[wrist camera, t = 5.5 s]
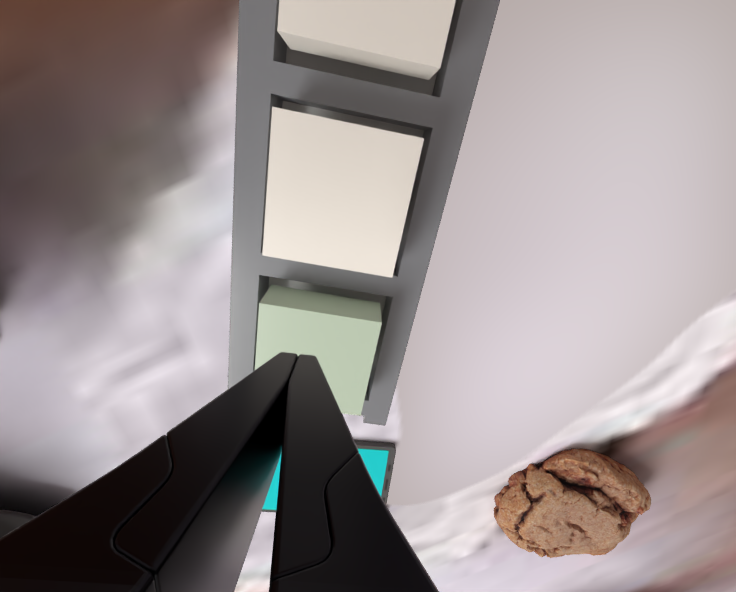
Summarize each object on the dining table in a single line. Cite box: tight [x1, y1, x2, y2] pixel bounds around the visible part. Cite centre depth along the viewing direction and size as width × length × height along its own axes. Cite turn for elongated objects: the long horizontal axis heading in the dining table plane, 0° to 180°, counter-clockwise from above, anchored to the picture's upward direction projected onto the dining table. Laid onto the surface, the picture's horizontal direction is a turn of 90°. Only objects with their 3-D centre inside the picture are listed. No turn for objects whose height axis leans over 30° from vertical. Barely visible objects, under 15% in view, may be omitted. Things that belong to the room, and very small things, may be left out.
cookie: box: [494, 449, 651, 558], centre depth 25 cm, size 10×11×3 cm
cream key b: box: [262, 107, 424, 278], centre depth 13 cm, size 5×5×2 cm
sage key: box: [255, 285, 382, 416], centre depth 16 cm, size 5×5×2 cm
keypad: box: [228, 0, 500, 426], centre depth 14 cm, size 30×9×4 cm, turn 169°
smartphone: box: [262, 441, 396, 512], centre depth 25 cm, size 7×1×15 cm
